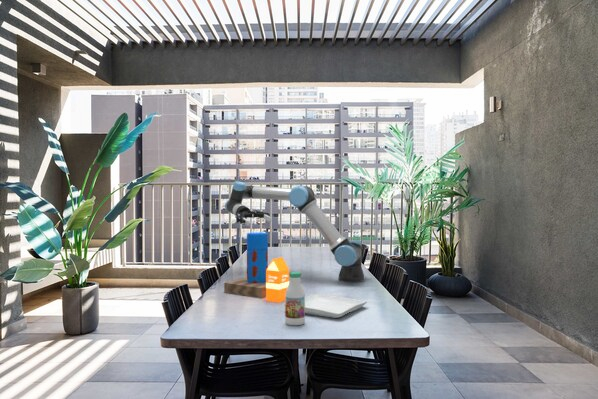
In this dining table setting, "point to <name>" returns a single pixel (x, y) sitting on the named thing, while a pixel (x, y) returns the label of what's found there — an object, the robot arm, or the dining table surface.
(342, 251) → the robot arm
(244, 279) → the walnut riser
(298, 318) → the milk bottle
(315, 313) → the square plate
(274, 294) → the orange juice
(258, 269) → the thermos
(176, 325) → the dining table surface
